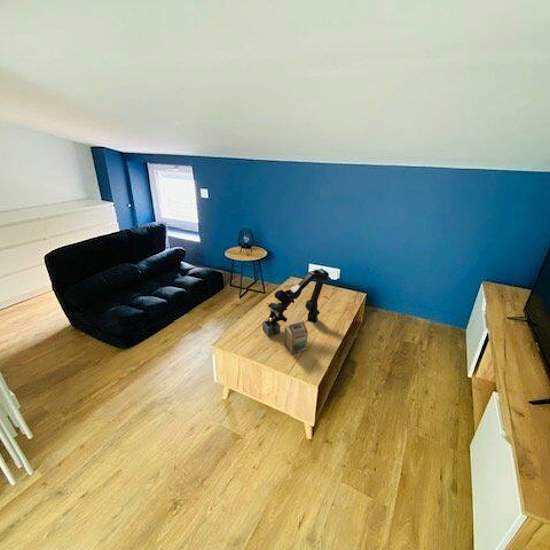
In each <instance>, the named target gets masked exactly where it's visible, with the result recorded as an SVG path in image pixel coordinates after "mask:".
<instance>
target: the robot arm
mask: <svg viewBox="0 0 550 550" xmlns="http://www.w3.org/2000/svg"><path fill="white" fill-rule="evenodd" d="M329 276H330V274H329V272H328V271H327V270H325V269H323V268H319V269H314V270H310V271H309V272H308V274H307V275H306V276H304V278H302V280H301V281H299V283H297V284H296V285H294V286H291V288H289V289H287V290H285V291H284V290H283V289H279V290H277V291H276V292H275V293H274V298H275V299H276V300H278V303H276V302H270V303H269V304H268V305H267V306H268V308H269V310H270V311H269V312H270V314H269V316H268V319H267V320H268V321H269V318H270V317H273V318H274V319H273V320H272V321H271V323H270V324H273V323H275V322H278V323H279V322H280V321H282V322H284V323H287V321H288V318H287V317H286V316H285V315H284V312H285V311H287V310H288V308H289V306H290V305H291V304H295V300H297V299H298V298H299V297H300V296H301V294H302V292H303V290H304V289H305V288H307V286H308V285H309V284H310V283H311V282H312V281H313V280H315V279H316V282H315V284H314V288H313V291H312V293H311V298H310V299H309V300H306V303H305V309H306V310H307V311H308V313H307V322H311V323H317V321H318V319H319V317H318V316H319V315H320V314H321V311H320V310H318V308H319V305H318V300H319V297H320V294H321V292H322V289H323V286H324V283H325V282H327V280H328V278H329Z"/></svg>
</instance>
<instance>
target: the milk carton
mask: <svg viewBox="0 0 550 550" xmlns="http://www.w3.org/2000/svg"><path fill="white" fill-rule="evenodd" d="M283 335H284V337H283V338H284V339H283V341H284V342H283V343H284V344H283V346H284V347H285V349H286V350H287V351H288V352H289V354H290V355H291V356H293V355H296V354H300V353H303V352H306V351H307V350H308V335H309V332H308V328H307V326H306V324H305V321H304V320H301V321H297V322H292V323H289V324H288V325H286V326H284V334H283Z"/></svg>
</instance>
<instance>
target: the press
mask: <svg viewBox="0 0 550 550" xmlns="http://www.w3.org/2000/svg"><path fill="white" fill-rule="evenodd" d="M270 326H271V324H270V323H269V321H268V319H267V320H264V321H262V330H263V332H264V333H265V335H266V336H267V337H271V336H274V335H279V334H281V324H280V323H279V321H278V322H275V323H273V324H272V326H273V327H270Z"/></svg>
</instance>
